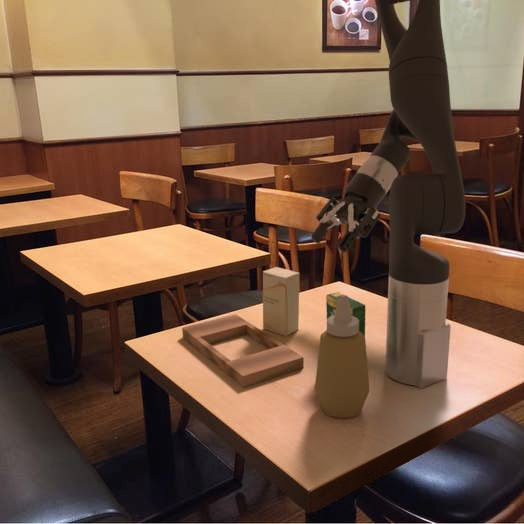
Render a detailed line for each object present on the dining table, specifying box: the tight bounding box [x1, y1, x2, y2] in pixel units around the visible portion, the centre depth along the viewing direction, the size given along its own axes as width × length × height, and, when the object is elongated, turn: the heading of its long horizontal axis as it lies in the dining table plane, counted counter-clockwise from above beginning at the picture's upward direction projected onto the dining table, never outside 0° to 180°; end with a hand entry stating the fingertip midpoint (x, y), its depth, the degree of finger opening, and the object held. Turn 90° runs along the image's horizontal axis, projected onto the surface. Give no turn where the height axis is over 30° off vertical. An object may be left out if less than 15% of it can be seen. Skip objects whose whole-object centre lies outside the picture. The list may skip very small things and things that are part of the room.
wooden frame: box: [181, 313, 305, 388], centre depth 106 cm, size 24×12×2 cm, turn 32°
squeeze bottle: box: [314, 294, 370, 419], centre depth 83 cm, size 8×8×18 cm
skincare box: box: [262, 266, 300, 337], centre depth 113 cm, size 6×4×12 cm
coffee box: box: [325, 291, 366, 337], centre depth 95 cm, size 8×3×13 cm, turn 25°
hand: (327, 245), depth 116 cm, fingers open, 8 cm apart
